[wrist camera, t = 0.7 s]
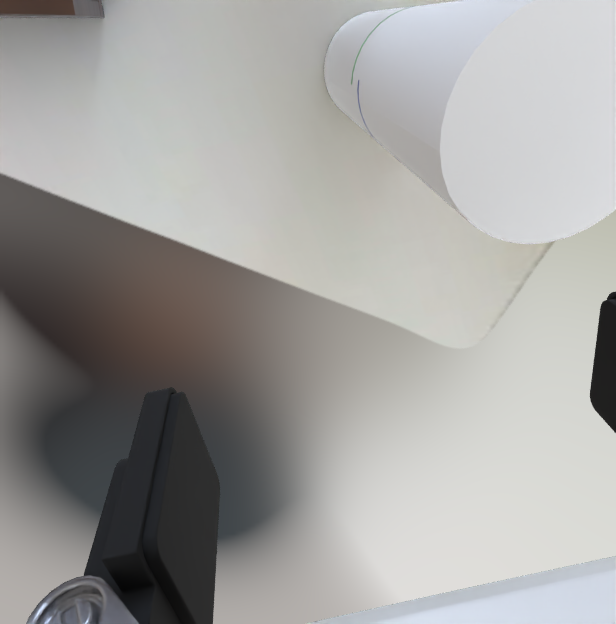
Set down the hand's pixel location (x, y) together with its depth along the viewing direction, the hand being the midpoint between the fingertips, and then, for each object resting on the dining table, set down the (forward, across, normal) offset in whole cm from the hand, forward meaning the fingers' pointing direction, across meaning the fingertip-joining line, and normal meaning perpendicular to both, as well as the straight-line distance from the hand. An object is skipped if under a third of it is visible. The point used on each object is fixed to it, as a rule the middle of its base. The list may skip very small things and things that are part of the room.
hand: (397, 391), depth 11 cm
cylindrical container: (+31, -7, -3) cm, 32 cm away
